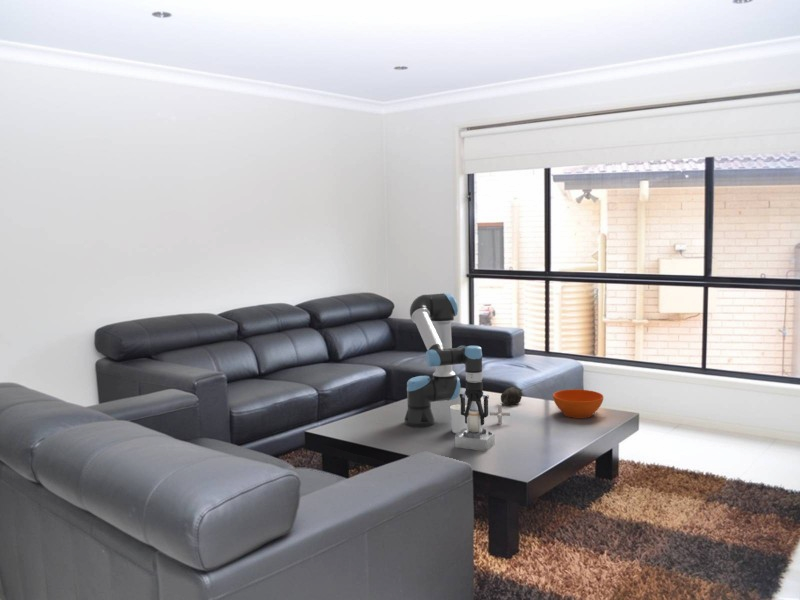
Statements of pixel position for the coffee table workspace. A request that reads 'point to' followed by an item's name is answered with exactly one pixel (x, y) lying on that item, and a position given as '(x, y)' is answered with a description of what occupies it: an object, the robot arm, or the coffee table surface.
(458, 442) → the cradle fixture plate
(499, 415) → the pipe connector
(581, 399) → the bowl
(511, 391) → the rock
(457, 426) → the candle holder
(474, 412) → the cream flashlight
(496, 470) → the coffee table surface
